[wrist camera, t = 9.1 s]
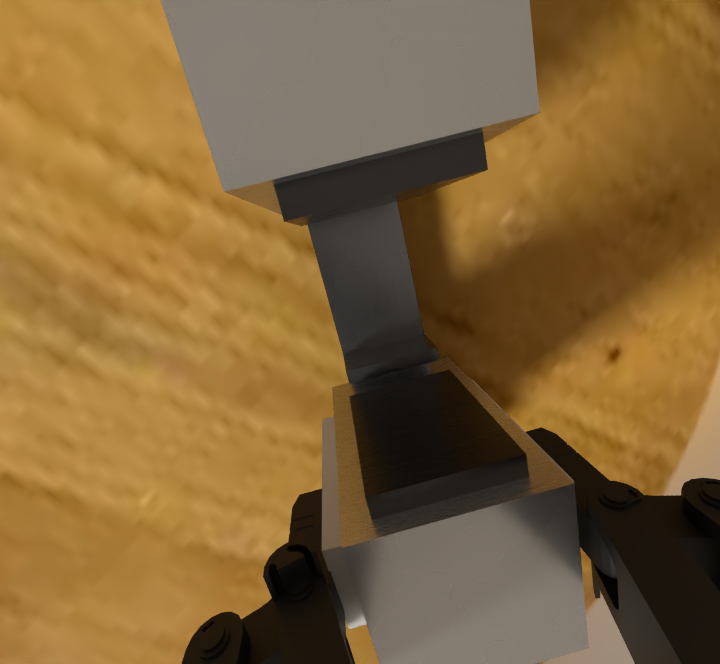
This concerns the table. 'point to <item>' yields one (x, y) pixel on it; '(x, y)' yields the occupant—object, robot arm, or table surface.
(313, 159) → the dark grey block holder
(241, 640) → the robot arm
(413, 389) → the light grey block
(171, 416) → the table surface
